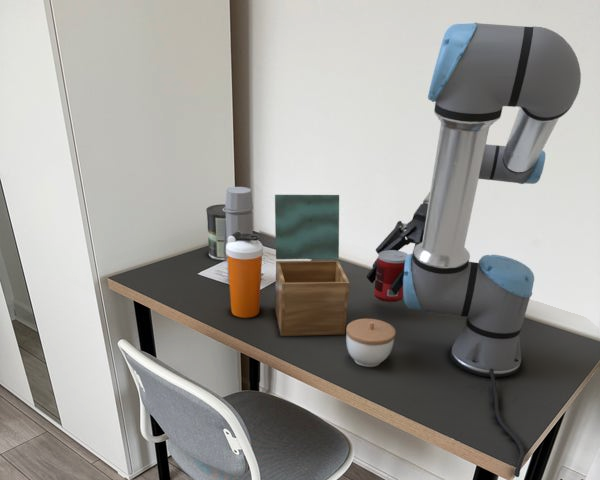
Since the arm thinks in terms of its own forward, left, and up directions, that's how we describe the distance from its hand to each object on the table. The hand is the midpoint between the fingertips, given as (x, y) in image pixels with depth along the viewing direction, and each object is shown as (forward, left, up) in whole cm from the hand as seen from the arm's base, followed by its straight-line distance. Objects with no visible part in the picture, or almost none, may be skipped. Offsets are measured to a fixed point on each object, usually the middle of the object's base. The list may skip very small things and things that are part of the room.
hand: (381, 285), depth 147 cm
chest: (-4, +19, -8) cm, 20 cm away
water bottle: (+24, +35, -8) cm, 43 cm away
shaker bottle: (+3, +34, -8) cm, 35 cm away
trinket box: (-23, +8, -8) cm, 26 cm away
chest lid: (+6, +19, +13) cm, 23 cm away
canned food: (+2, -3, -4) cm, 5 cm away
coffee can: (+44, +38, -8) cm, 59 cm away
